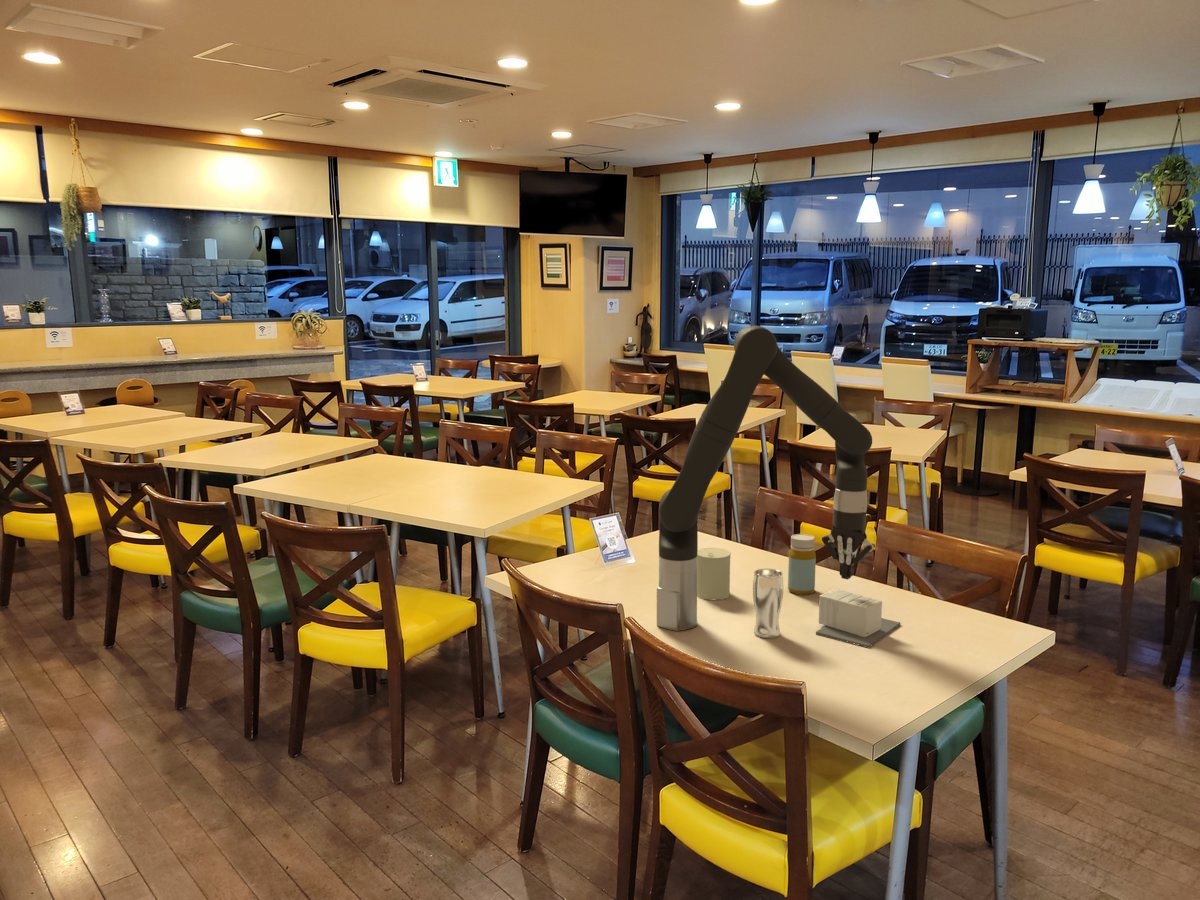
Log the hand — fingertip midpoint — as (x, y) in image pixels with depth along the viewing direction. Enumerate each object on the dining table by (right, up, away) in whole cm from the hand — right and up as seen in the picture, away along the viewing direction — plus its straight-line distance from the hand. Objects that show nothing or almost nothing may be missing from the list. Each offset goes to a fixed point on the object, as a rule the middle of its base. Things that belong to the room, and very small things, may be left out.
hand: (846, 578), depth 208 cm
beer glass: (-19, -13, -2) cm, 23 cm away
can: (-28, -8, +25) cm, 39 cm away
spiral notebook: (+3, -12, 0) cm, 12 cm away
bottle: (-5, -8, +27) cm, 28 cm away
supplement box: (-4, -7, +4) cm, 9 cm away
